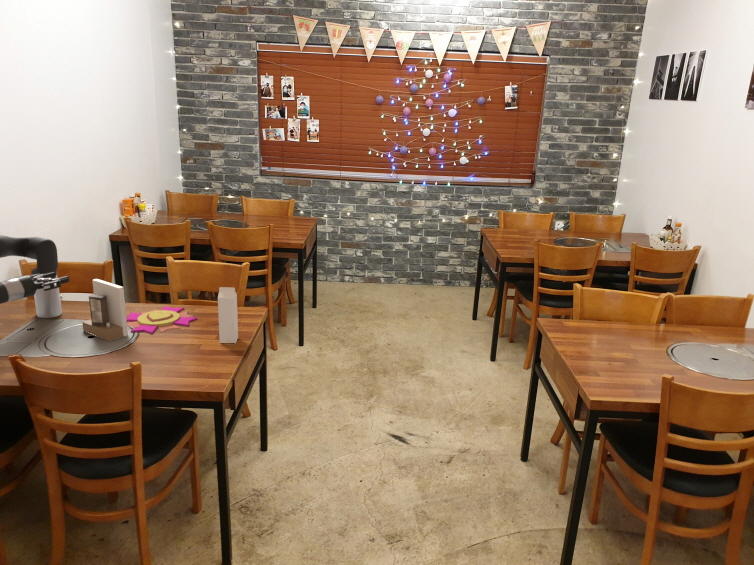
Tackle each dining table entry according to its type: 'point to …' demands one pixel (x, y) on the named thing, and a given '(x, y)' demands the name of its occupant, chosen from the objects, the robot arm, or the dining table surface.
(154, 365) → the dining table surface
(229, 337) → the milk
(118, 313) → the wall panel
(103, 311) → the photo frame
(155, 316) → the wall ornament
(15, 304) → the dining table surface
